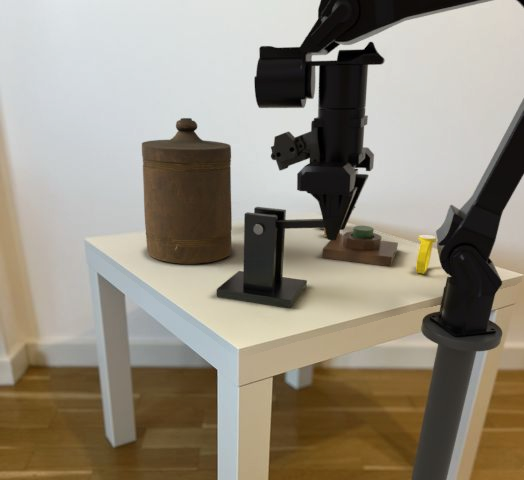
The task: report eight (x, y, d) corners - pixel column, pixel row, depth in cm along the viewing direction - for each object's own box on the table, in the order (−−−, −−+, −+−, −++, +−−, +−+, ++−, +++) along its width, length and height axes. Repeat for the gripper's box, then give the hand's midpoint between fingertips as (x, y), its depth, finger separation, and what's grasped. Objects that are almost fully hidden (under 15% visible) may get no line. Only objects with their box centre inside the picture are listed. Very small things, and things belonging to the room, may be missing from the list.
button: (373, 236, 99) (375, 226, 98) (370, 241, 96) (372, 231, 95) (354, 234, 100) (355, 224, 99) (350, 238, 97) (351, 229, 96)
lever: (344, 227, 75) (343, 209, 74) (336, 236, 71) (335, 217, 70) (262, 229, 79) (260, 212, 78) (250, 237, 75) (248, 220, 74)
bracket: (306, 287, 83) (312, 209, 78) (290, 308, 75) (295, 223, 70) (238, 277, 86) (239, 201, 81) (216, 296, 78) (216, 214, 73)
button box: (396, 251, 102) (399, 232, 101) (390, 266, 94) (393, 246, 92) (333, 243, 105) (335, 225, 104) (322, 257, 97) (323, 238, 95)
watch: (427, 278, 89) (433, 242, 86) (409, 275, 90) (415, 239, 87) (432, 267, 94) (438, 233, 91) (416, 265, 95) (421, 231, 92)
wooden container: (207, 237, 107) (206, 114, 97) (246, 257, 95) (249, 121, 86) (134, 246, 99) (124, 115, 89) (167, 269, 88) (160, 122, 78)
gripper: (298, 103, 77) (297, 215, 84) (253, 113, 61) (256, 249, 68) (378, 103, 73) (370, 219, 80) (352, 113, 58) (345, 256, 65)
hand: (336, 234), depth 74 cm, fingers closed on lever, 5 cm apart
